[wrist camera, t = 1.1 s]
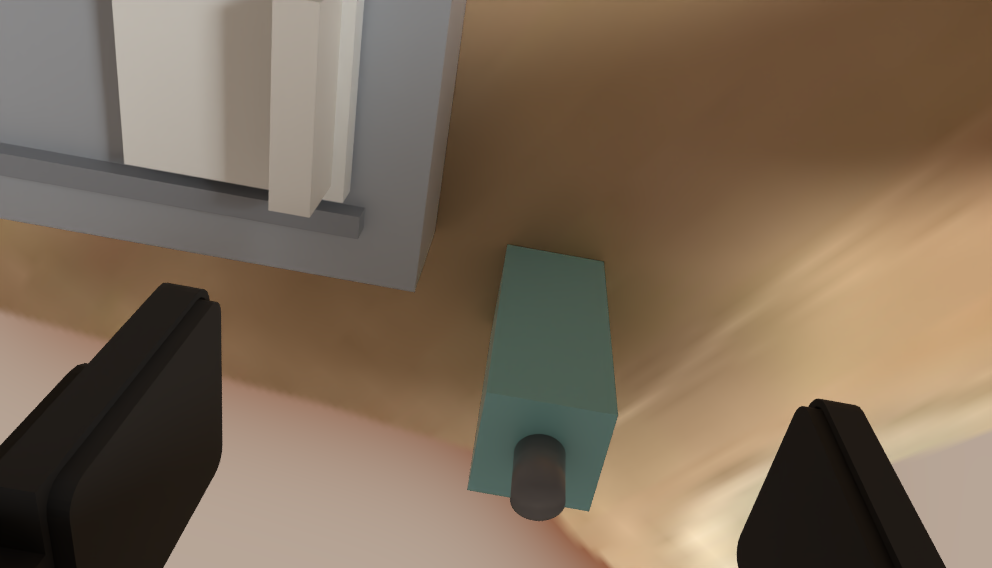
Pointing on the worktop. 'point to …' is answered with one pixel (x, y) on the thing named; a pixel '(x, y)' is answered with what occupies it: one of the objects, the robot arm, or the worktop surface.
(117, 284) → the worktop surface
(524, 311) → the teal rectangular bottle
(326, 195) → the shutter
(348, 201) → the grey flat box
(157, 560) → the robot arm
